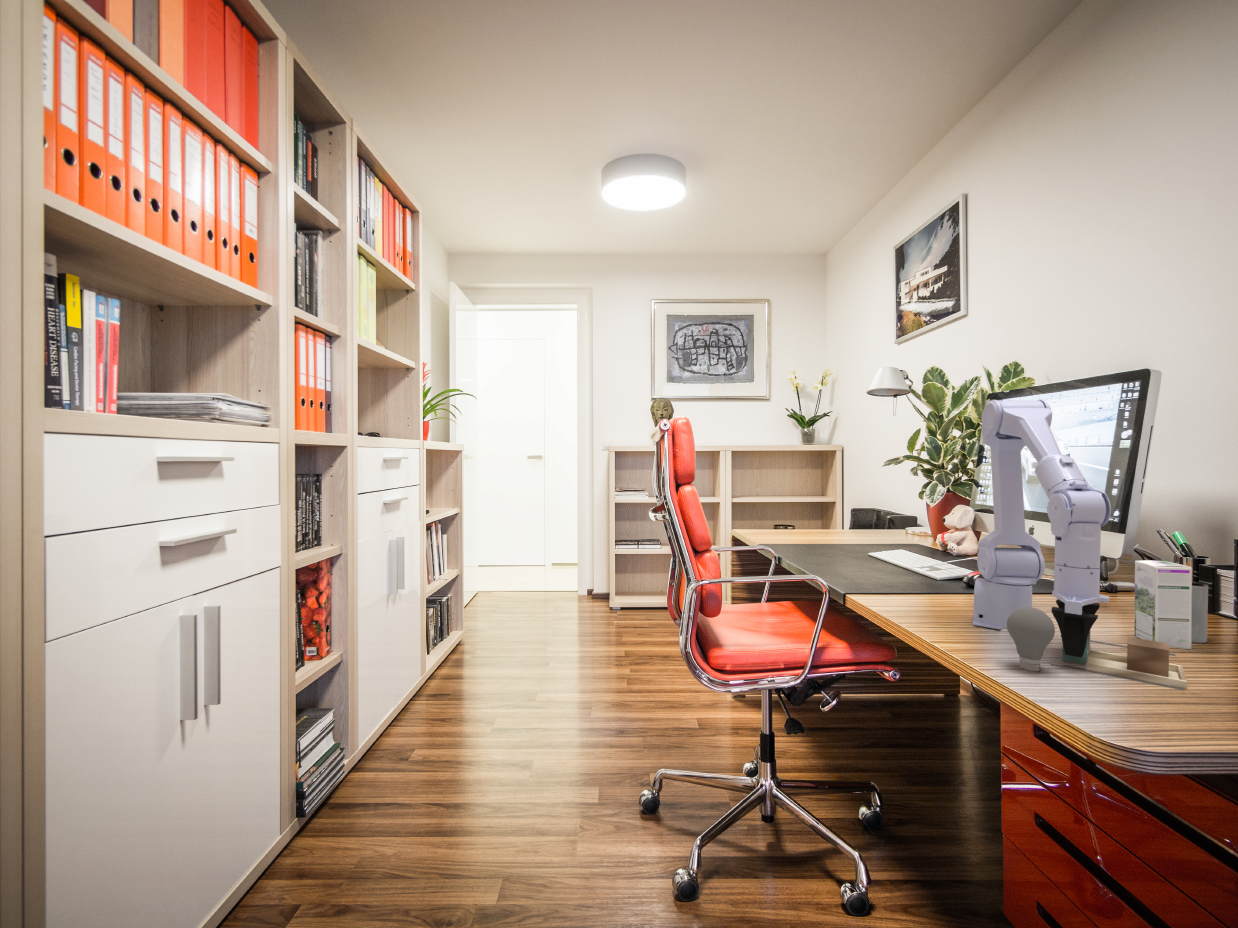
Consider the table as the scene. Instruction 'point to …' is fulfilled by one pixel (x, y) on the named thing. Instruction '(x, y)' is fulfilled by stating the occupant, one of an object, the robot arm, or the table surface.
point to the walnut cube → (1148, 656)
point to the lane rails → (1116, 675)
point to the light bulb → (1030, 635)
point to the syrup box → (1163, 602)
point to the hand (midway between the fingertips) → (1075, 650)
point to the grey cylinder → (1199, 612)
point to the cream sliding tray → (1125, 667)
